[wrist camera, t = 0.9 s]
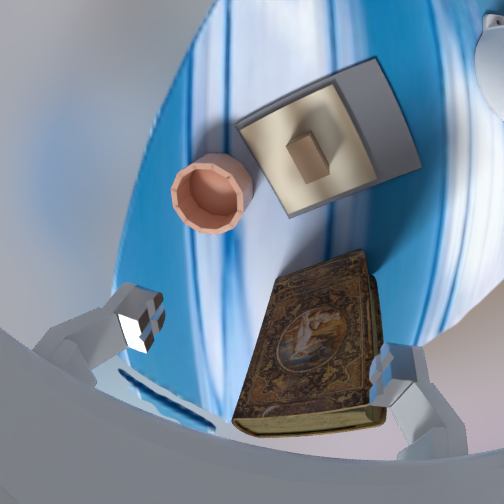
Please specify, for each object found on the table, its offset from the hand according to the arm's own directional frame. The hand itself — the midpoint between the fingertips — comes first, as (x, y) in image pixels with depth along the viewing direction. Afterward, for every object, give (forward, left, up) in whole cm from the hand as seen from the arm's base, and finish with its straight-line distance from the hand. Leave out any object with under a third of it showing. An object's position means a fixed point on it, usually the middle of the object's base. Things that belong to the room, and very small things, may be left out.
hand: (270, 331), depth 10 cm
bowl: (+15, -1, -31) cm, 34 cm away
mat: (-2, 0, -31) cm, 31 cm away
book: (+8, +19, -31) cm, 37 cm away
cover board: (+1, 0, -30) cm, 30 cm away
